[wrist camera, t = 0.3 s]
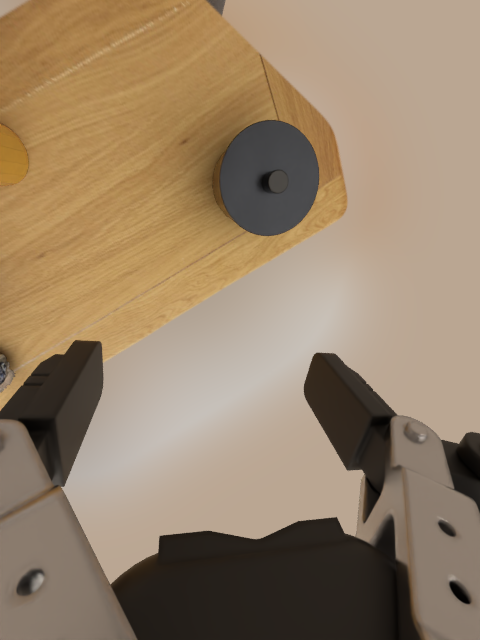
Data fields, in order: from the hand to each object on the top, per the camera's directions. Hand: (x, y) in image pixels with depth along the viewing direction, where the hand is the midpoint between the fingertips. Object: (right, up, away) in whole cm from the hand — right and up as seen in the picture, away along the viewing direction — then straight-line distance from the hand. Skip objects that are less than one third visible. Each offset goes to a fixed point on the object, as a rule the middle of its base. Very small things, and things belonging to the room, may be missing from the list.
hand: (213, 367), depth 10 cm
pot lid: (+4, +16, +18) cm, 24 cm away
